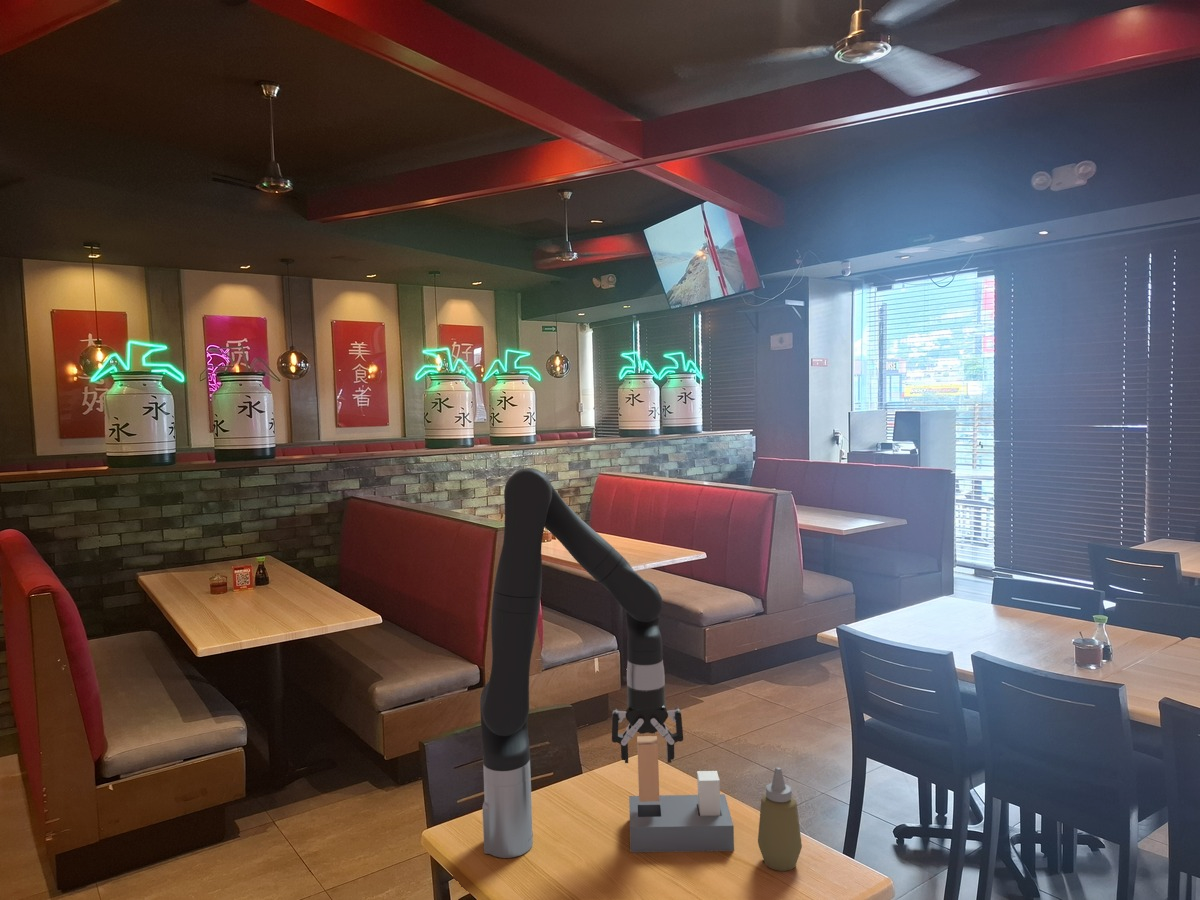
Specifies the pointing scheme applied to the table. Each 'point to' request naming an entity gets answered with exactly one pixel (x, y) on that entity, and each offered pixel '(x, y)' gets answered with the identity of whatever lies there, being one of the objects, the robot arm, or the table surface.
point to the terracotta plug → (648, 768)
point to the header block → (678, 825)
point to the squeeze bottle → (779, 826)
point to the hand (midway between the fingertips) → (647, 761)
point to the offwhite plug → (708, 793)
